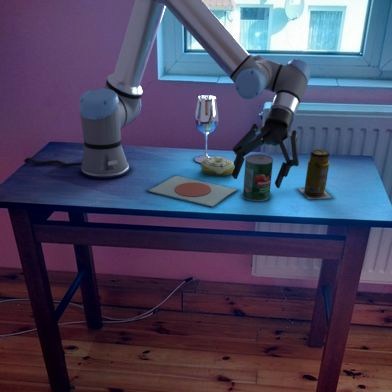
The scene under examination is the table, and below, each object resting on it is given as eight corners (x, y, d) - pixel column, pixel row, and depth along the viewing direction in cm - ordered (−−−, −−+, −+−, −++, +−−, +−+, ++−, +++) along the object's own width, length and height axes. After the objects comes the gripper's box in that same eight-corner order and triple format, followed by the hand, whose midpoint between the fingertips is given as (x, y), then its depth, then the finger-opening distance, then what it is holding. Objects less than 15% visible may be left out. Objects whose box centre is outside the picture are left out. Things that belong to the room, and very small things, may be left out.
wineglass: (203, 165, 178) (204, 101, 166) (189, 159, 183) (189, 96, 171) (221, 161, 182) (224, 97, 170) (207, 155, 187) (209, 93, 174)
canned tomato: (263, 203, 153) (267, 164, 146) (238, 198, 156) (240, 160, 149) (273, 194, 158) (277, 156, 152) (248, 189, 161) (251, 152, 155)
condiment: (321, 188, 163) (327, 147, 155) (331, 198, 156) (338, 157, 149) (298, 189, 162) (303, 149, 154) (308, 200, 155) (313, 158, 148)
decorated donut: (222, 180, 168) (222, 168, 165) (194, 173, 172) (194, 161, 170) (239, 170, 174) (240, 159, 172) (212, 164, 179) (212, 152, 177)
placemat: (148, 191, 159) (148, 189, 159) (175, 176, 169) (175, 174, 169) (212, 207, 150) (212, 205, 150) (236, 190, 161) (236, 188, 160)
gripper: (324, 128, 152) (298, 195, 151) (246, 115, 162) (221, 179, 161) (320, 112, 145) (293, 183, 144) (239, 100, 155) (213, 166, 154)
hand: (255, 181), depth 153 cm, fingers open, 13 cm apart
